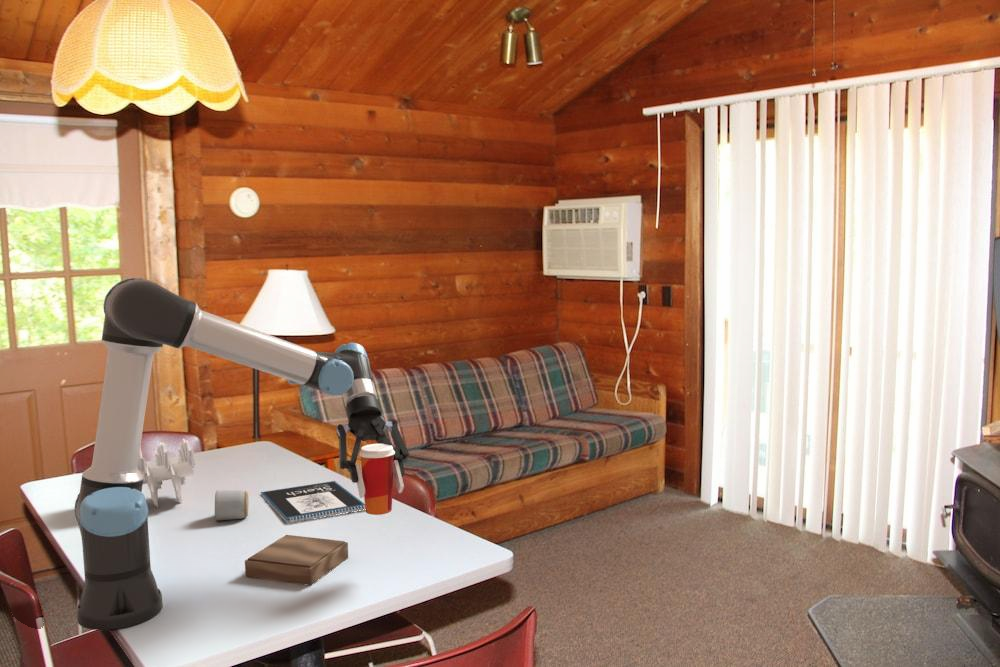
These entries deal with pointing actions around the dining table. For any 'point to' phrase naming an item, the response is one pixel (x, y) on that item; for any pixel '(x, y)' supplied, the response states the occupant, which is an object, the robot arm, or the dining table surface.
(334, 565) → the walnut plinth
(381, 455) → the paper cup
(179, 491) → the white spiked piece
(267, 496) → the sketchbook
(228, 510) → the grey cylinder
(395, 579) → the dining table surface
